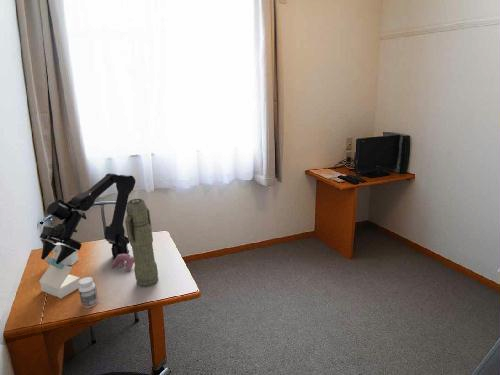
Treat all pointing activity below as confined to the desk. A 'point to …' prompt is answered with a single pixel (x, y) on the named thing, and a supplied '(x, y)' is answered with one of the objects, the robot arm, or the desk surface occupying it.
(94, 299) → the pill bottle
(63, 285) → the carton
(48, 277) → the flap
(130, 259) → the video game controller
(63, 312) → the desk surface
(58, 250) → the small box
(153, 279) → the olive tall rounded piece
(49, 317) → the desk surface
